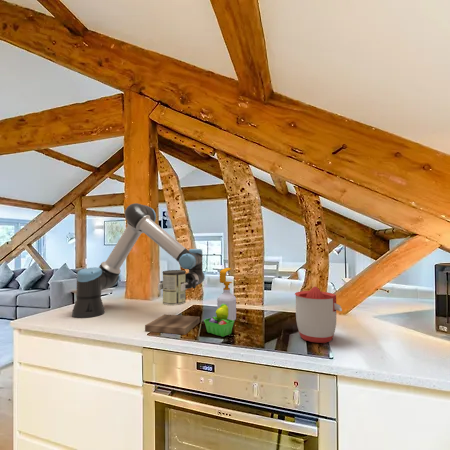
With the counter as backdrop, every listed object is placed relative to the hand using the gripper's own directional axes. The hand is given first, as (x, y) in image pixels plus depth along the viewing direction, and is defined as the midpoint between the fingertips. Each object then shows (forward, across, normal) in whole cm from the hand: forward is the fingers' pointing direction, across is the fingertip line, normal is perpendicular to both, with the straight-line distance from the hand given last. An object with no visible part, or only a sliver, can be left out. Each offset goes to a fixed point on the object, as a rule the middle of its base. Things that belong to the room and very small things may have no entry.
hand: (170, 287), depth 122 cm
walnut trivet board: (-4, 0, -18) cm, 18 cm away
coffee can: (-4, 0, -8) cm, 9 cm away
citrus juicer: (-3, -61, -18) cm, 64 cm away
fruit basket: (-1, -22, -18) cm, 29 cm away
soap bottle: (-21, -20, -18) cm, 34 cm away
